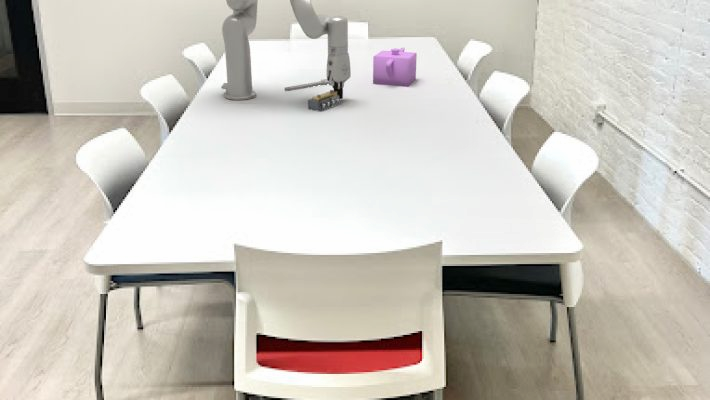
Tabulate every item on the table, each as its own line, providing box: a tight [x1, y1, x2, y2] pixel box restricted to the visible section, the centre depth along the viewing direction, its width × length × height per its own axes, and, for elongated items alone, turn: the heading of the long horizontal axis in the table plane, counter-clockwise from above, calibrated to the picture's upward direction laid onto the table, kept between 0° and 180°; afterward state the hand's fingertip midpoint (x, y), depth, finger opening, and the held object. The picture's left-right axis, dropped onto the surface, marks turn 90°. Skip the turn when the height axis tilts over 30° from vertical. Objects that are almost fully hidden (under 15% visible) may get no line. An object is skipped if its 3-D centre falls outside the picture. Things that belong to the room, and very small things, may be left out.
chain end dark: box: [307, 97, 331, 112], centre depth 280 cm, size 7×6×4 cm
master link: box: [312, 89, 337, 101], centre depth 282 cm, size 2×12×5 cm, turn 147°
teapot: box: [372, 47, 418, 87], centre depth 318 cm, size 15×25×14 cm, turn 162°
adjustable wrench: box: [284, 78, 329, 92], centre depth 312 cm, size 25×6×2 cm, turn 122°
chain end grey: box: [330, 95, 341, 108], centre depth 284 cm, size 7×5×4 cm
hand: (338, 98), depth 289 cm, fingers closed
